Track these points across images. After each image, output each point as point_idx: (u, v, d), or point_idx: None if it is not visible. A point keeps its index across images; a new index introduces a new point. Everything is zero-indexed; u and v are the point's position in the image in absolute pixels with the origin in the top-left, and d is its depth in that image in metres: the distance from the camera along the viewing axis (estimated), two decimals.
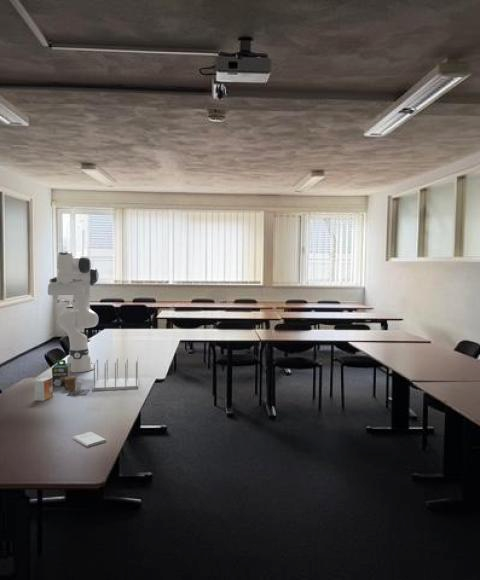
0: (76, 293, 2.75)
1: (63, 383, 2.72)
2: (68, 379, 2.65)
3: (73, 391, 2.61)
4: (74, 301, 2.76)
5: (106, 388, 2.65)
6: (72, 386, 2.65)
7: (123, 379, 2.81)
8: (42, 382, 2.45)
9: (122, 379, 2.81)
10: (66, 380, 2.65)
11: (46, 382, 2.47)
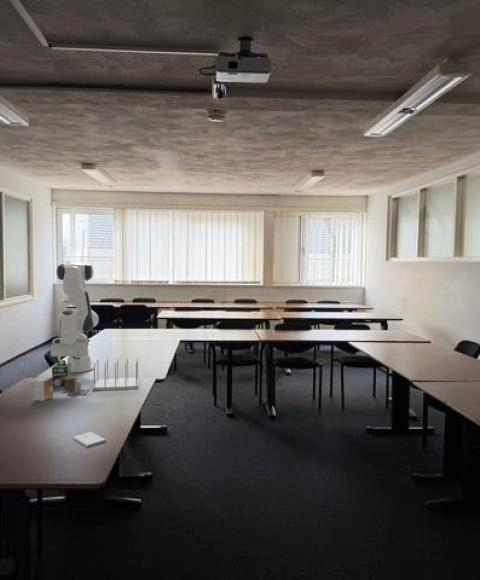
0: (80, 354, 2.65)
1: (63, 383, 2.72)
2: (68, 379, 2.65)
3: (73, 391, 2.61)
4: (78, 362, 2.66)
5: (106, 388, 2.65)
6: (72, 386, 2.65)
7: (123, 379, 2.81)
8: (42, 382, 2.45)
9: (122, 379, 2.81)
10: (66, 380, 2.65)
11: (46, 382, 2.47)
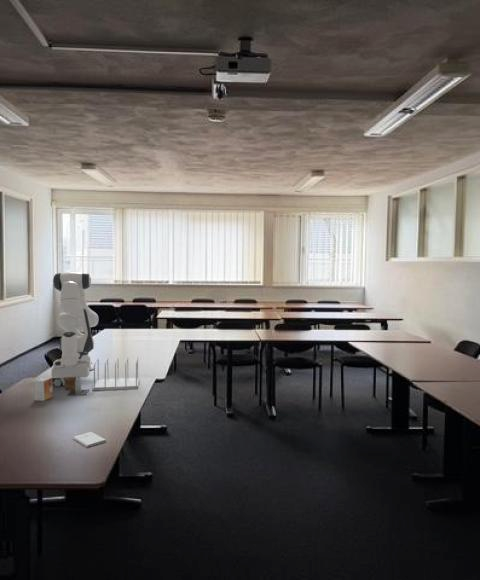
0: (81, 375, 2.66)
1: None
2: (68, 379, 2.65)
3: (73, 391, 2.61)
4: None
5: (106, 388, 2.65)
6: (72, 386, 2.65)
7: (123, 379, 2.81)
8: (42, 382, 2.45)
9: (122, 379, 2.81)
10: (66, 380, 2.65)
11: (46, 382, 2.47)
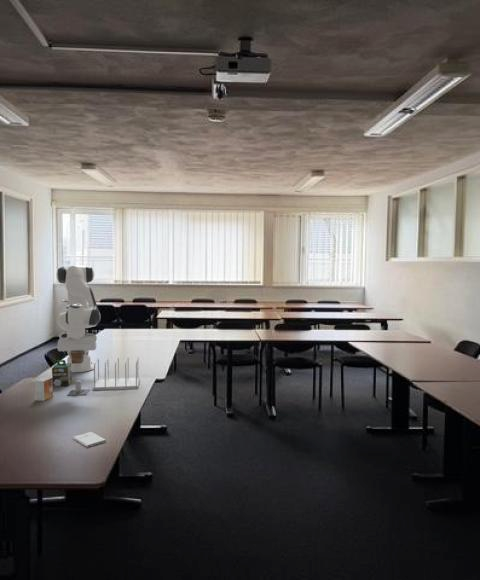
0: (88, 349, 2.57)
1: (63, 383, 2.72)
2: (75, 352, 2.55)
3: (73, 391, 2.61)
4: (83, 357, 2.58)
5: (106, 388, 2.65)
6: (79, 359, 2.56)
7: (124, 379, 2.81)
8: (42, 382, 2.45)
9: (123, 379, 2.81)
10: (73, 353, 2.55)
11: (46, 382, 2.47)
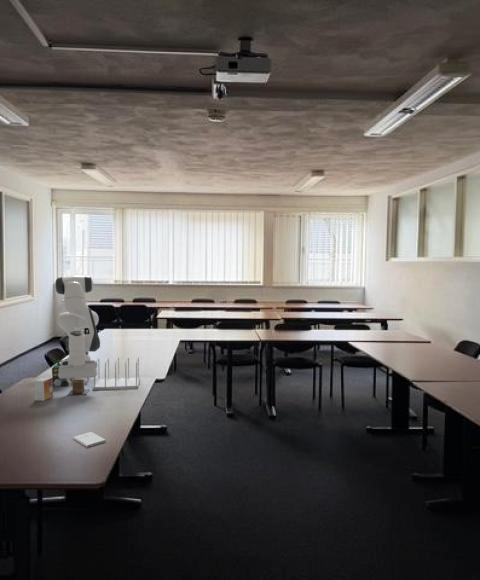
0: (89, 376, 2.58)
1: (63, 383, 2.72)
2: (76, 382, 2.56)
3: None
4: (85, 384, 2.59)
5: (106, 387, 2.66)
6: (80, 389, 2.57)
7: (124, 379, 2.81)
8: (42, 382, 2.45)
9: (123, 379, 2.81)
10: (74, 383, 2.56)
11: (46, 382, 2.47)
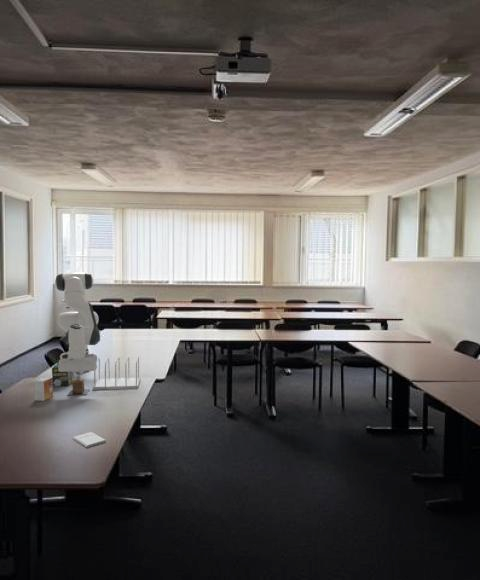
0: (88, 369, 2.58)
1: (63, 383, 2.72)
2: (76, 382, 2.56)
3: None
4: (79, 377, 2.58)
5: (106, 387, 2.66)
6: (80, 389, 2.57)
7: (124, 379, 2.82)
8: (42, 382, 2.45)
9: (123, 379, 2.82)
10: (74, 383, 2.56)
11: (46, 382, 2.47)
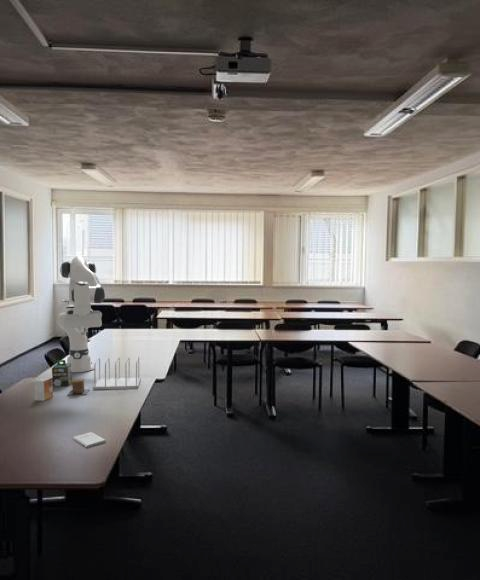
0: (93, 325, 2.63)
1: (63, 383, 2.72)
2: (76, 382, 2.56)
3: None
4: (84, 334, 2.64)
5: (106, 387, 2.66)
6: (80, 389, 2.57)
7: (125, 379, 2.82)
8: (42, 382, 2.45)
9: (124, 378, 2.82)
10: (74, 383, 2.56)
11: (46, 382, 2.47)
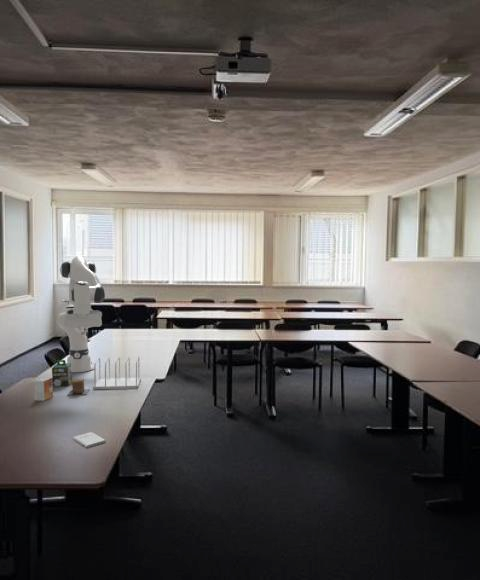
0: (93, 325, 2.63)
1: (63, 383, 2.72)
2: (76, 382, 2.56)
3: None
4: (84, 333, 2.64)
5: (106, 387, 2.66)
6: (80, 389, 2.57)
7: (125, 378, 2.82)
8: (42, 382, 2.45)
9: (124, 378, 2.82)
10: (74, 383, 2.56)
11: (46, 382, 2.47)
